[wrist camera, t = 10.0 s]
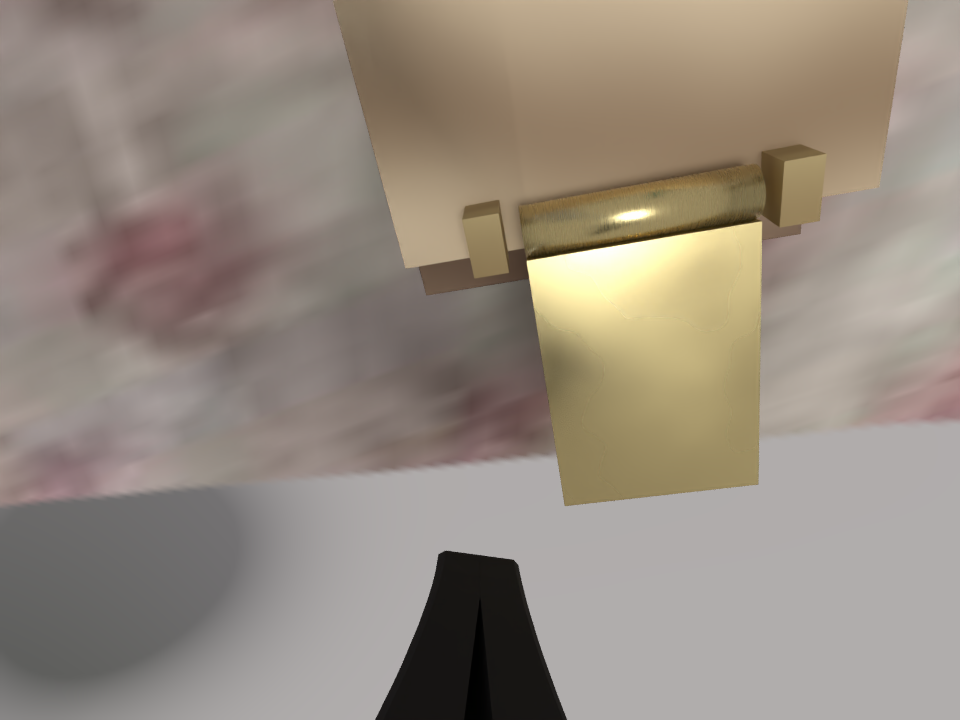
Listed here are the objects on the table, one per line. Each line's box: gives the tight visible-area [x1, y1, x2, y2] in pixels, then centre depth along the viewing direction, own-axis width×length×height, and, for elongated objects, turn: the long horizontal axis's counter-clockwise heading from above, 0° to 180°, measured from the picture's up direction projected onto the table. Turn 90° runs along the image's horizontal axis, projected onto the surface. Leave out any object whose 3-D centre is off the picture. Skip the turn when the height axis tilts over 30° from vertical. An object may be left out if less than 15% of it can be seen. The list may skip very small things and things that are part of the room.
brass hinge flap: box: [518, 163, 766, 506], centre depth 12 cm, size 7×4×1 cm, turn 11°
